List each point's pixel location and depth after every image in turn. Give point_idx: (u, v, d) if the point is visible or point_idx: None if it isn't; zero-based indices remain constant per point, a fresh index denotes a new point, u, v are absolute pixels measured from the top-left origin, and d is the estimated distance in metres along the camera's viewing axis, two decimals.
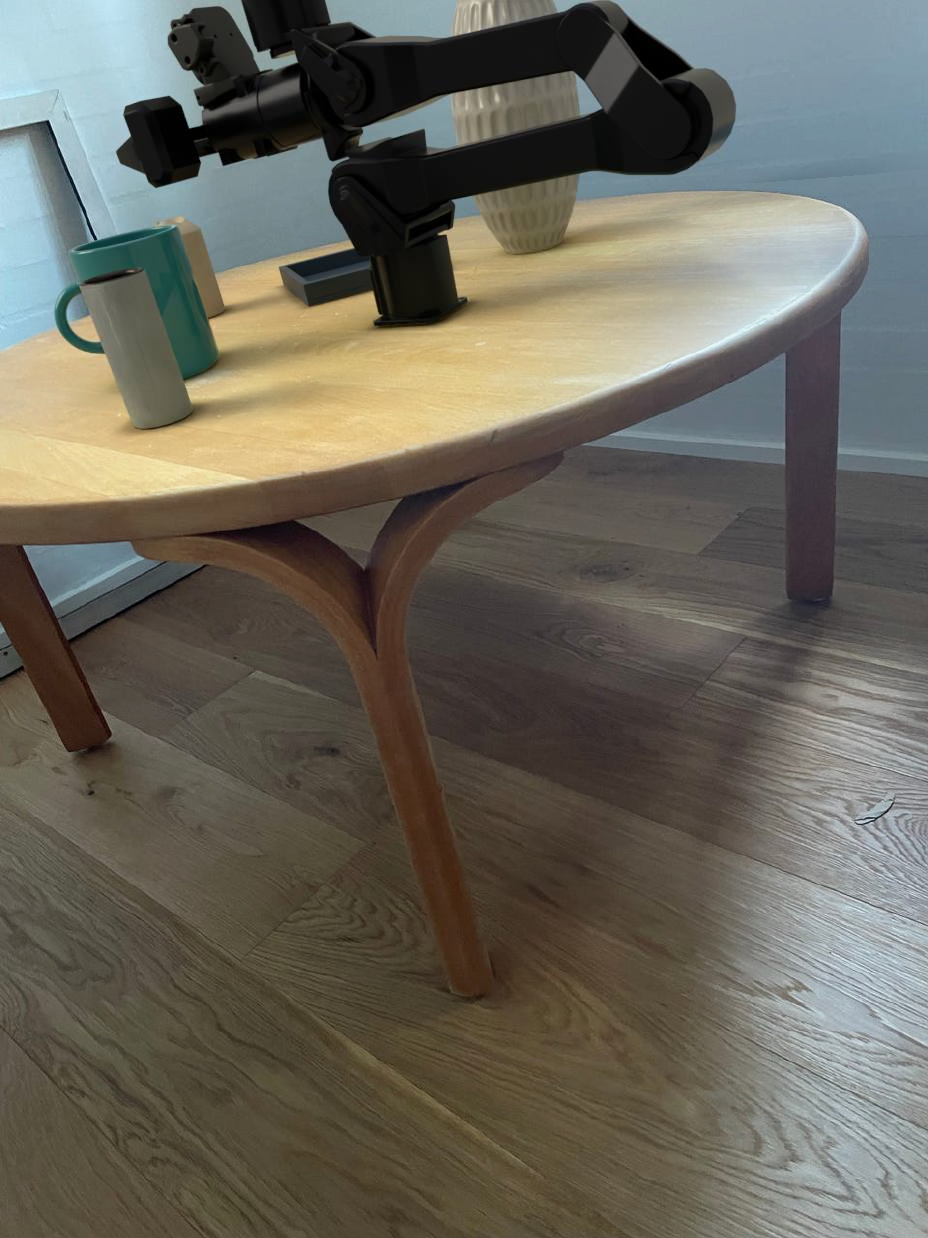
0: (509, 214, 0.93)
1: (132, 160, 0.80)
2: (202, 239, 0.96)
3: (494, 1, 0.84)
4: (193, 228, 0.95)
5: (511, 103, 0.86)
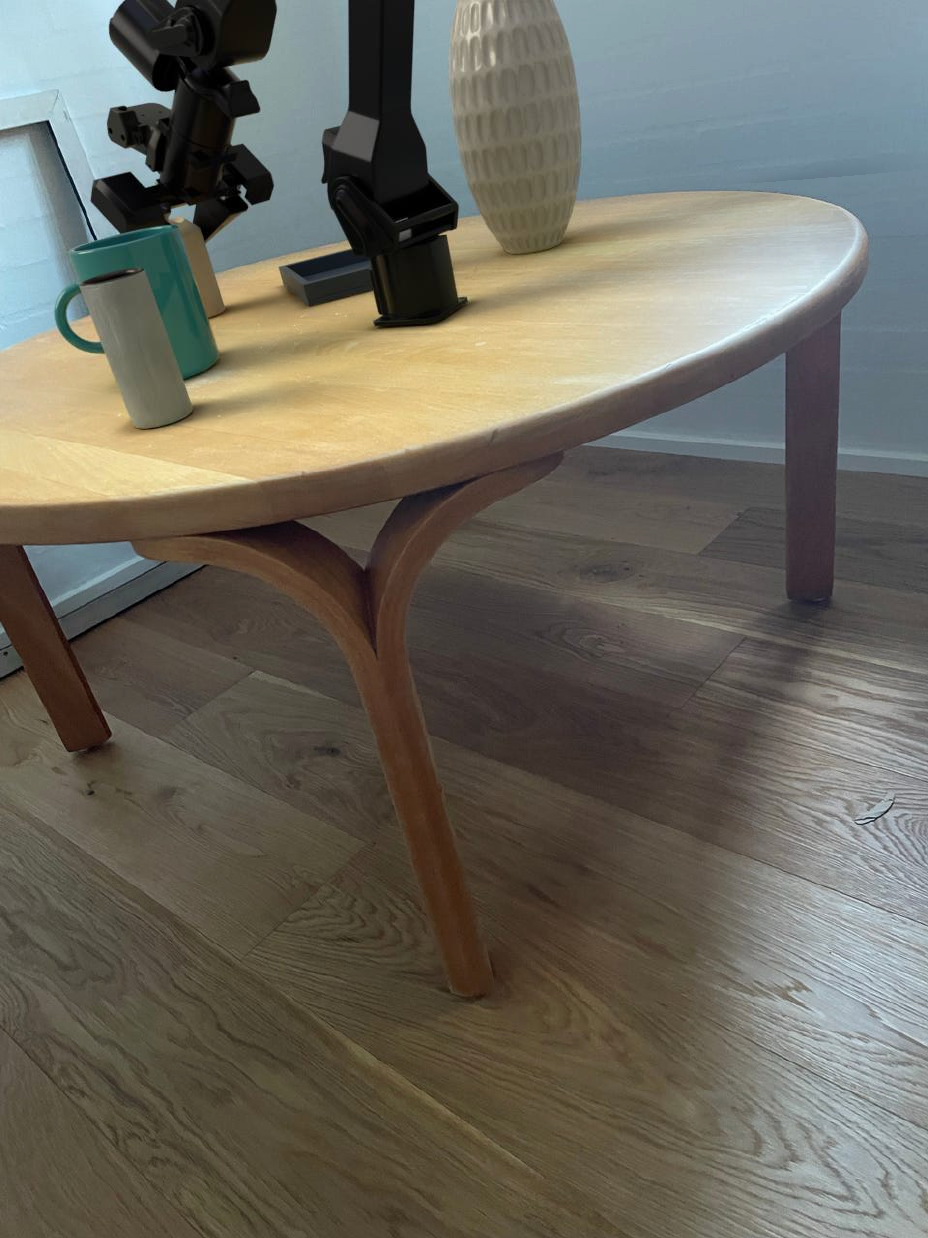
0: (509, 214, 0.93)
1: None
2: (202, 239, 0.96)
3: (494, 1, 0.84)
4: (192, 228, 0.95)
5: (511, 103, 0.86)
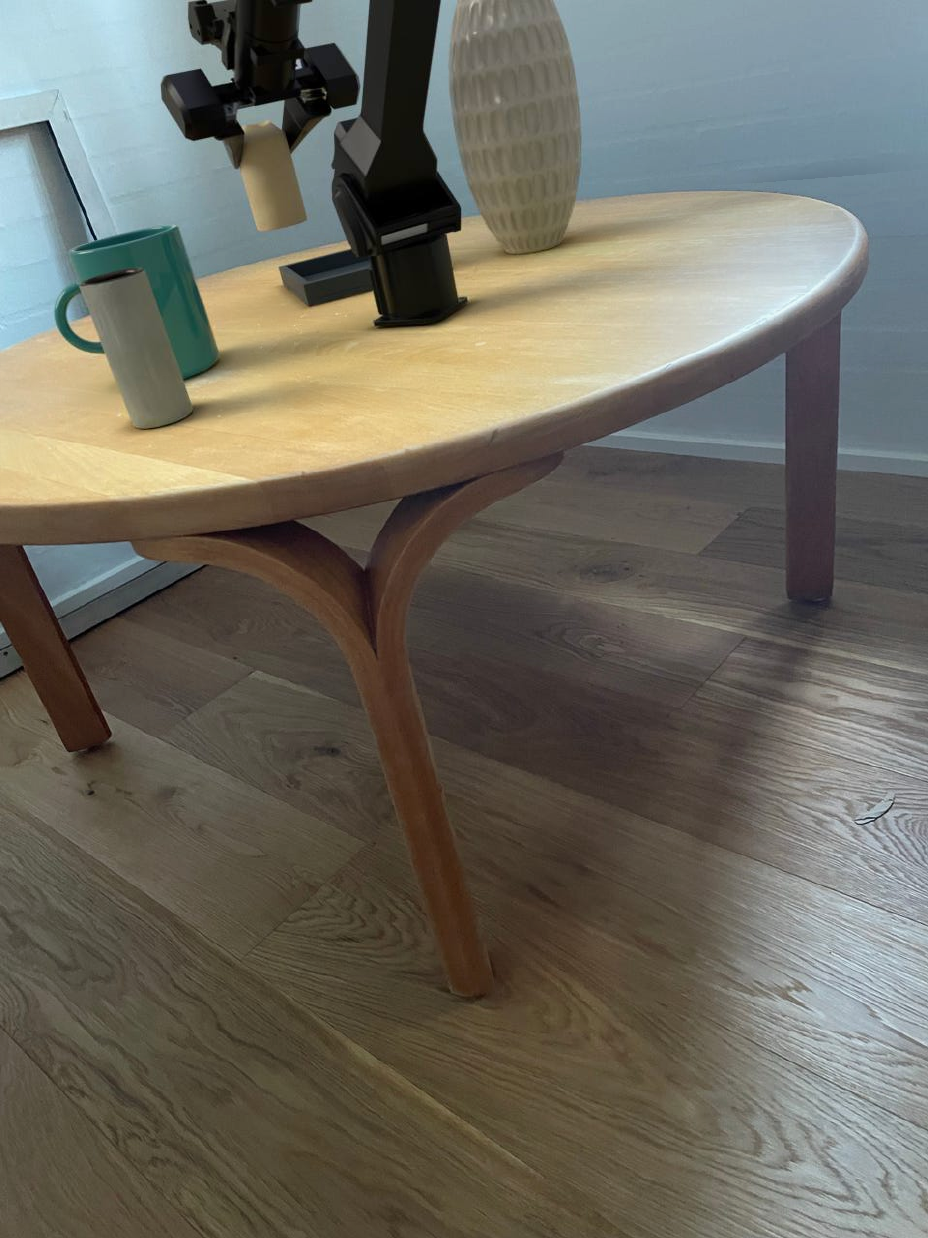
0: (509, 214, 0.93)
1: (229, 152, 0.93)
2: (284, 144, 0.94)
3: (494, 1, 0.84)
4: (273, 132, 0.93)
5: (511, 103, 0.86)
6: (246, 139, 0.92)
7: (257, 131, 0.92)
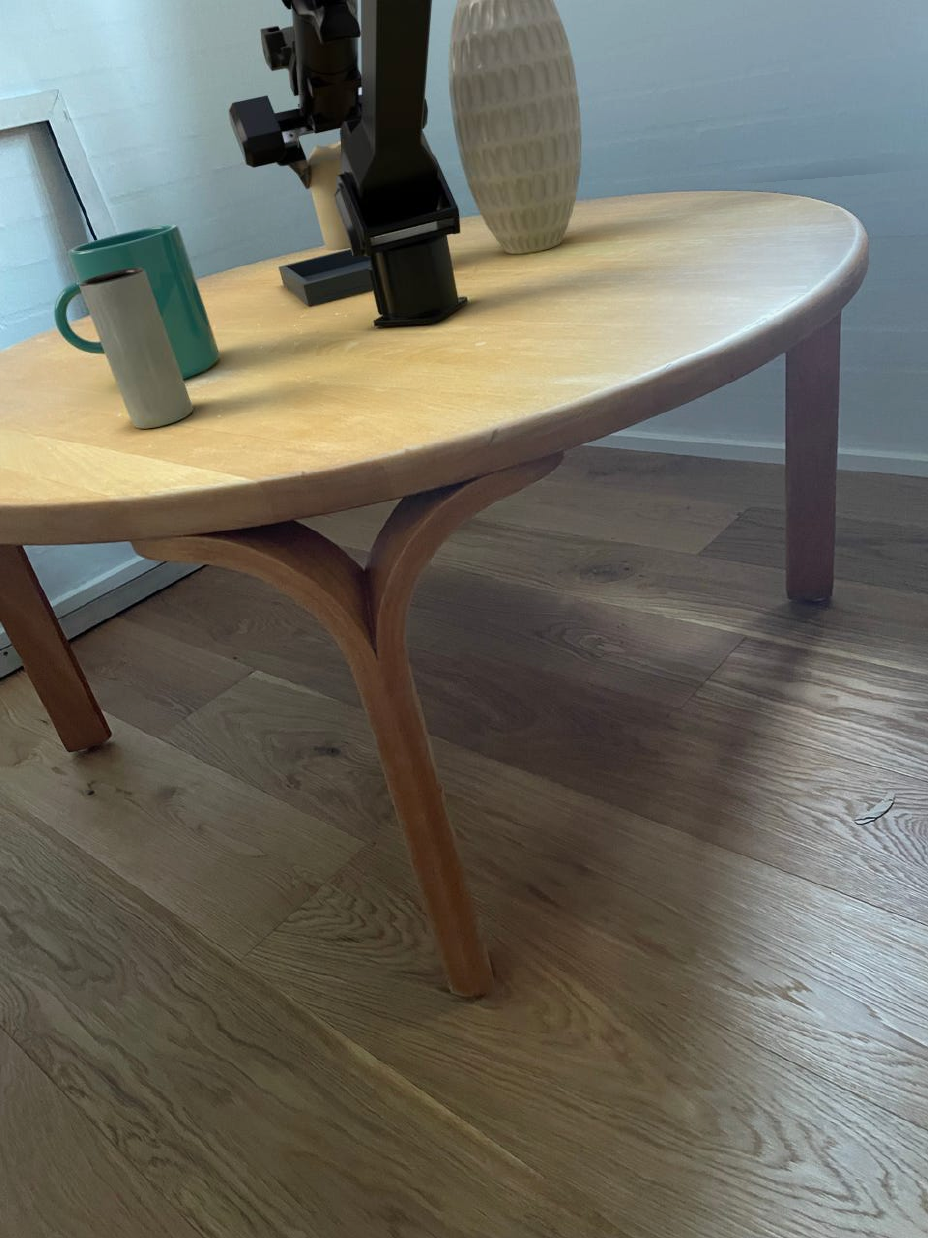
0: (509, 214, 0.93)
1: None
2: None
3: (494, 1, 0.84)
4: None
5: (511, 103, 0.86)
6: (314, 161, 0.94)
7: (326, 153, 0.93)
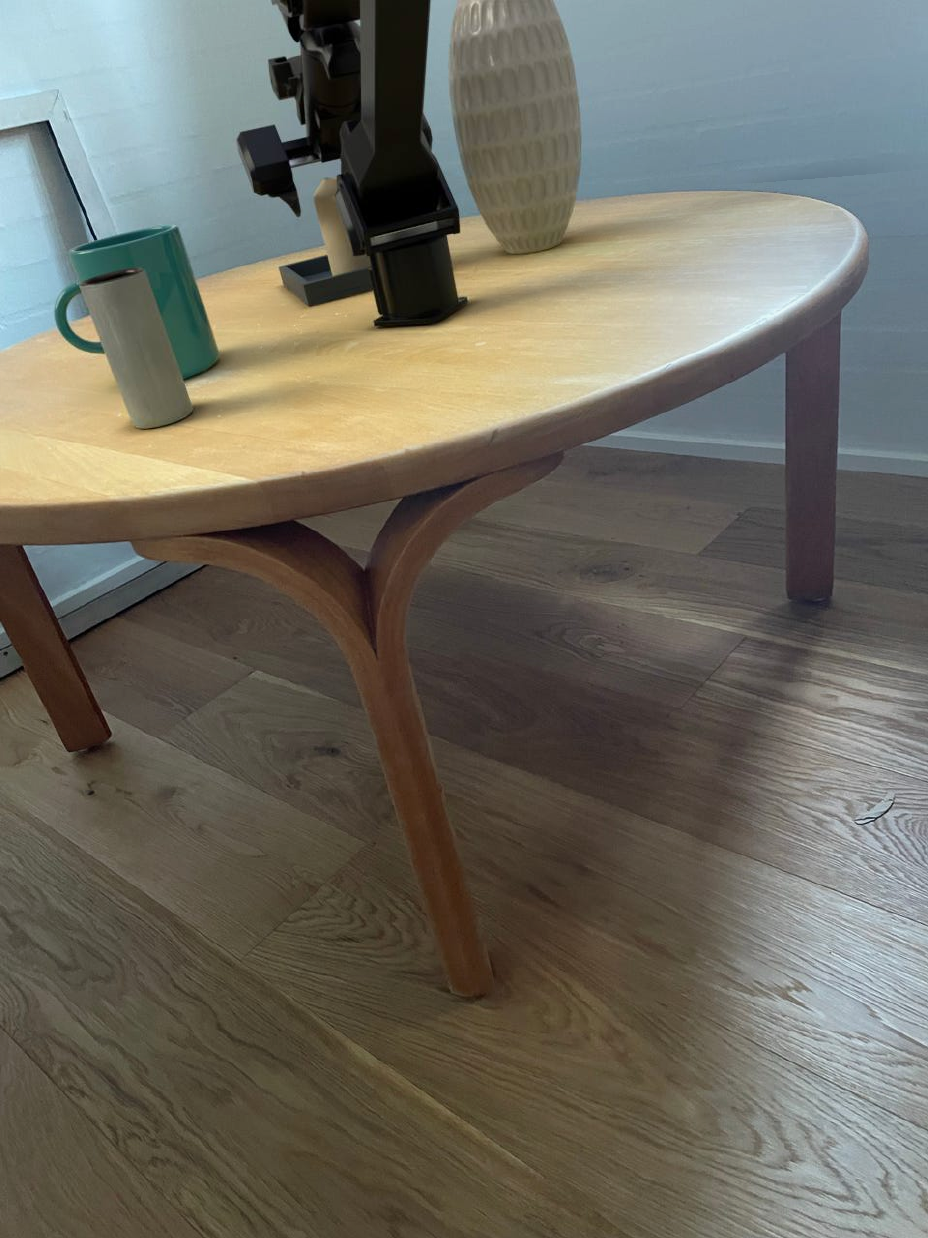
0: (509, 214, 0.93)
1: None
2: None
3: (494, 1, 0.84)
4: None
5: (511, 103, 0.86)
6: (322, 194, 0.95)
7: (334, 186, 0.95)
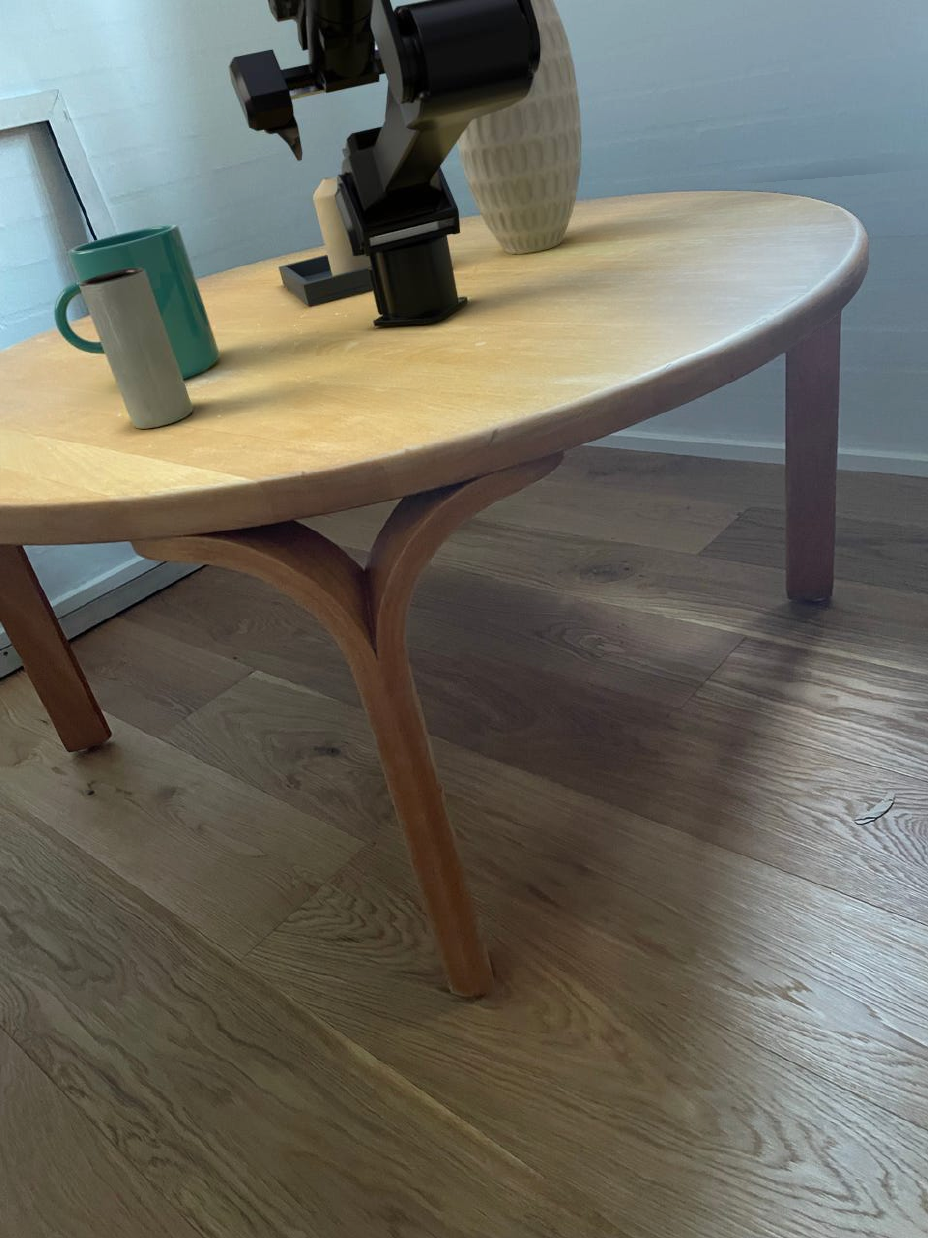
0: (509, 214, 0.93)
1: None
2: None
3: None
4: None
5: None
6: (322, 194, 0.95)
7: (334, 186, 0.95)
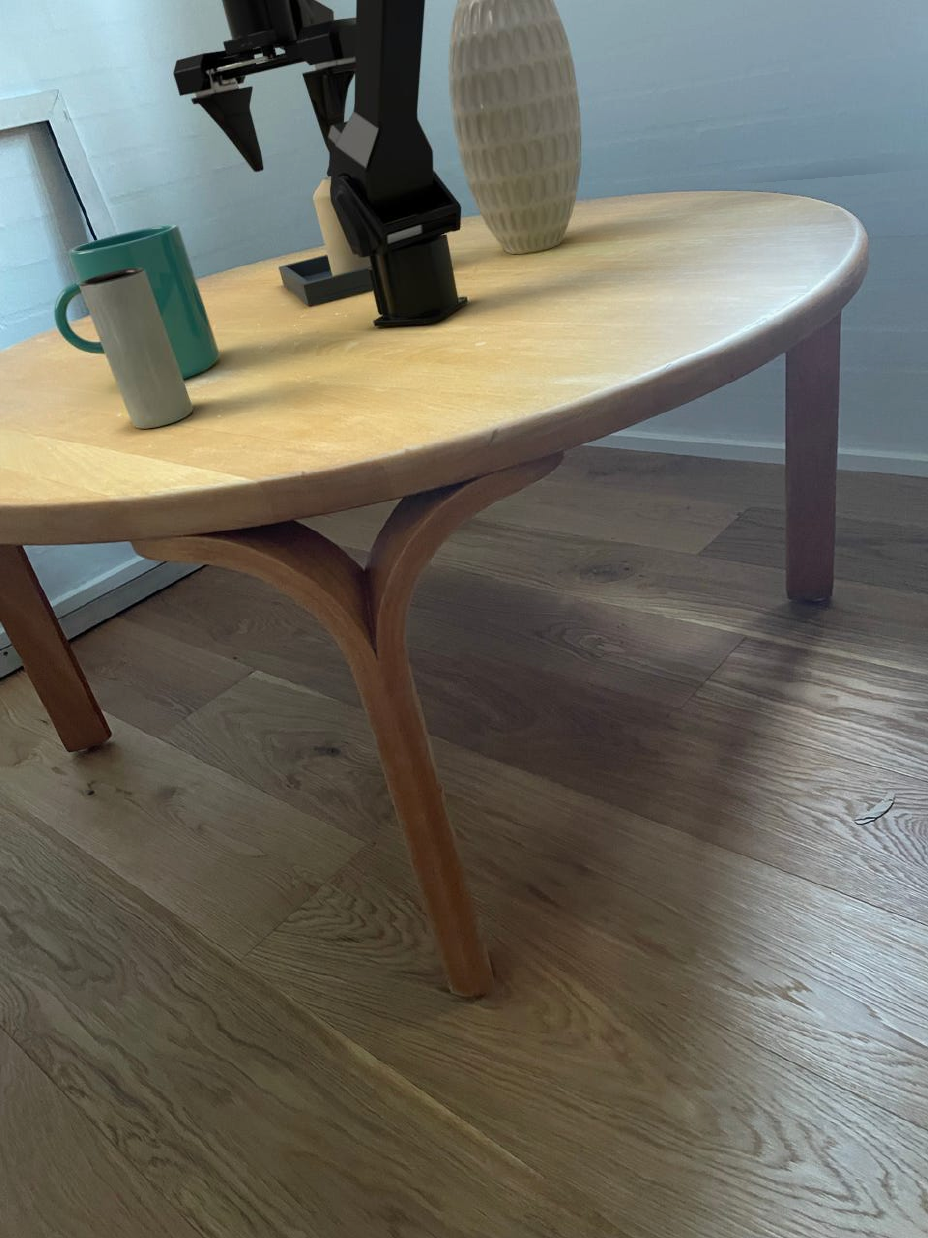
0: (509, 214, 0.93)
1: None
2: None
3: (494, 1, 0.84)
4: None
5: (511, 103, 0.86)
6: (322, 194, 0.95)
7: None
